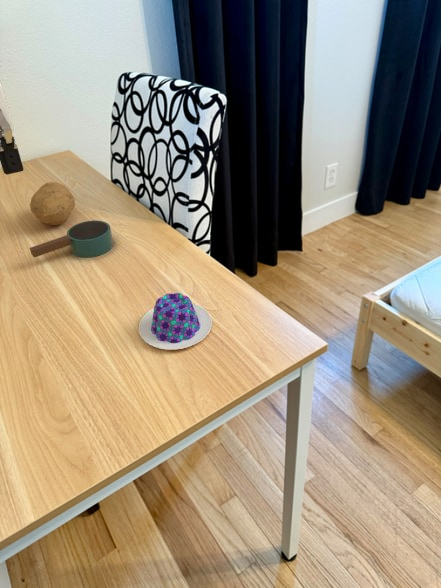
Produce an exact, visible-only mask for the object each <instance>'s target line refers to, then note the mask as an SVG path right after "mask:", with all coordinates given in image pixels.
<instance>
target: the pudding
mask: <svg viewBox="0 0 441 588" xmlns="http://www.w3.org/2000/svg"><path fill="white" fill-rule="evenodd" d="M212 326H213V319H212V316H211V314H210V313H209V312H208V311H207V310H206V309H205V308H204V307H202V306H201V305H199V304H196V303H193V302H192V300H191V298H190V297H189V296H188V295H183V293H181V292H175V293H171V292H170V293H166V294H164V295H163V296H160V297H159V298H157V300H156V301H155V304H154V307H152V308H151V309H149V310H148V311H147V312H146V313H145V314H144V315H143V316H142V317H141V319H140V321H139V324H138V333H139V335H140V337H141V339H142V340H143V341H144V343H146V344H148V345H150V346H151V347H154V348H156V349H161V350H166V351H167V350H170V351H172V350H174V351H175V350H182V349H185V348H190V347H191V346H195V345H196V344H198V343H200V342H201V341H203V340H204V339H205V338H206V337H207V336H208V335H209V333H210V331H211V330H212Z"/></svg>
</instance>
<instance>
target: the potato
mask: <svg viewBox="0 0 441 588" xmlns="http://www.w3.org/2000/svg"><path fill="white" fill-rule="evenodd" d="M29 207H30V211H31V213H32V214H33V215H34V217H35V218H37V219H38V220H39V221H41V222H43V224H46V225H52V226H59V225H61V224H62V223H64V222H67V220H68V219H69V217H70V216H71V214H72V212H73V210H74V209H75V207H76V198H75V196H74V195H73V194H72V192H71V191H70V190H69V188H68V187H67V186H66V185H65V184H62V183H60V182H57V181H56V182H55V181H49V182H45V183H44V184H42V185H41V186H40V187H39V188H38V189H37V191H36V192H35V193H34V194H33V195H32V197H31V198H30V203H29Z"/></svg>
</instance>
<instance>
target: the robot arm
mask: <svg viewBox="0 0 441 588" xmlns="http://www.w3.org/2000/svg"><path fill="white" fill-rule="evenodd" d="M1 66H2V63H1V62H0V67H1ZM14 131H15V129H14V123H13V119H12V115H11V112H10V108H9V105H8V101H7V98H6V95H5V92H4V89H3V86H2V82H1V81H0V165H1V169H2V171H3V174H5V175H7V176H8V175H12V174H17V173H21V172H24V166H23V162H22V159H21V155H20V151H19V148H18V145H17V142H16V139H15V136H14V135H13V133H14Z"/></svg>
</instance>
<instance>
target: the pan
mask: <svg viewBox="0 0 441 588" xmlns="http://www.w3.org/2000/svg"><path fill="white" fill-rule="evenodd" d="M114 244H115V243H114V239H113V233H112V229H111V225H110V224H109V223H108V222H105V221H103V220H85V221H81V222H79V223H76V224H74V225H72V226H71V227H70V228H69V229H68V230H67V231H66V235H63V236H59V237H57V238H54V239H52V240H48V241H46V242H43V243H39V244H37V245H33V246H31V247H29V252H30V254H31V256H32V257H33V258H38V257H40V256H41V257H42V256H44V255H46V254H49V253H52V252H55V251H57V250H60V249H63V248H66V247H69V248H70V251H71V253H72V255H74V256H76V257H79V258H85V259H87V258H94V257H99V256H102V255H105V254H107V253H109V252H110V251H112V249H113V247H114Z"/></svg>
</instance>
